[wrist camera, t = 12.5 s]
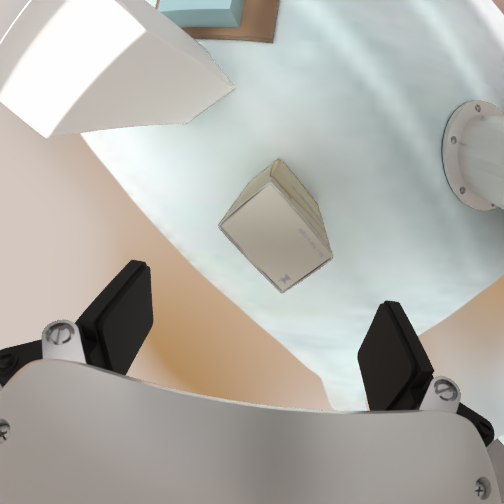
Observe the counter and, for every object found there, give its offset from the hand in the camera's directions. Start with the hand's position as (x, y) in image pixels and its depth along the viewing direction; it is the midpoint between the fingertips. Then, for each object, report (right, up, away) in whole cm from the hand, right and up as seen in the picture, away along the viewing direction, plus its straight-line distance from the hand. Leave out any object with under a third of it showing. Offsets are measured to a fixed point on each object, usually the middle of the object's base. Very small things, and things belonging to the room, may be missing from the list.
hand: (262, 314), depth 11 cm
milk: (-6, +19, +13) cm, 24 cm away
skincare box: (+3, +8, +17) cm, 19 cm away
